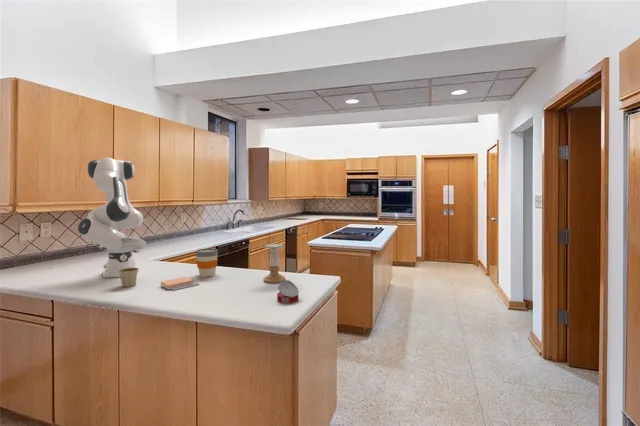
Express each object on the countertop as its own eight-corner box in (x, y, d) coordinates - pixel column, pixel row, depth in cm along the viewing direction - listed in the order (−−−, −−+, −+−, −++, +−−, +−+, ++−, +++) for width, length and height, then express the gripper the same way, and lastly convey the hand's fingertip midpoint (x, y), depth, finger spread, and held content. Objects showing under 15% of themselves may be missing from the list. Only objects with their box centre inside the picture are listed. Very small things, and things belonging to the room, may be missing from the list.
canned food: (294, 306, 152) (303, 287, 153) (293, 311, 142) (303, 291, 143) (273, 295, 152) (283, 276, 152) (270, 300, 142) (281, 280, 142)
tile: (160, 281, 169) (184, 276, 178) (160, 285, 169) (185, 280, 178) (168, 285, 162) (193, 280, 171) (168, 289, 162) (193, 283, 172)
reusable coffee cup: (214, 277, 185) (213, 252, 184) (192, 277, 185) (192, 252, 184) (221, 272, 198) (220, 248, 197) (201, 272, 198) (200, 248, 197)
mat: (160, 284, 172) (160, 283, 172) (186, 279, 182) (186, 278, 182) (172, 290, 161) (172, 289, 161) (199, 284, 171) (199, 283, 171)
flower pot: (143, 284, 172) (142, 268, 172) (125, 289, 164) (124, 272, 164) (133, 282, 177) (132, 266, 176) (115, 286, 169) (114, 270, 168)
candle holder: (261, 283, 173) (260, 246, 172) (265, 277, 186) (265, 243, 184) (283, 283, 173) (283, 246, 172) (286, 277, 185) (286, 243, 184)
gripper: (133, 231, 149) (155, 242, 160) (101, 236, 154) (124, 247, 166) (129, 243, 145) (152, 254, 157) (96, 248, 151) (120, 259, 163)
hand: (138, 251), depth 161 cm, fingers closed
